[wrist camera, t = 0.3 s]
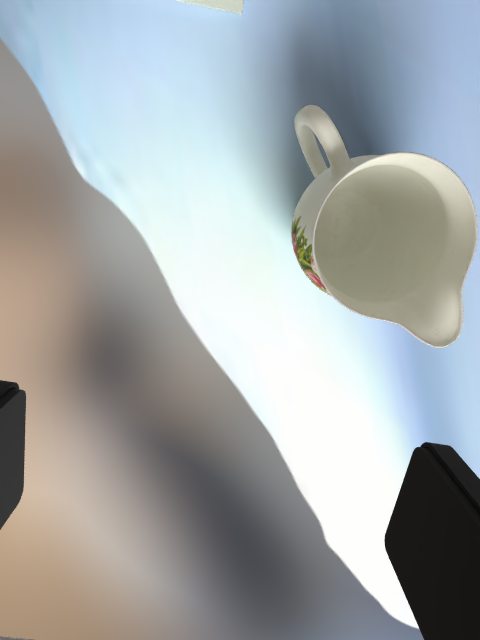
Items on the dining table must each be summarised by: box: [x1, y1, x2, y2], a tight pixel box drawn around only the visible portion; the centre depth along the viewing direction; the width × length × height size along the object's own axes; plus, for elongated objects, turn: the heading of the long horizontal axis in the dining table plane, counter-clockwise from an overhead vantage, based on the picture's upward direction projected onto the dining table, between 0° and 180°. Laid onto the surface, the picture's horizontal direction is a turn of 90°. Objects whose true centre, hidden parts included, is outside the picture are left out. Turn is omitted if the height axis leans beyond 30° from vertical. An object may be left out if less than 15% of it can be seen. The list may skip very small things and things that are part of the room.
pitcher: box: [292, 105, 478, 348], centre depth 32 cm, size 11×18×14 cm, turn 32°
